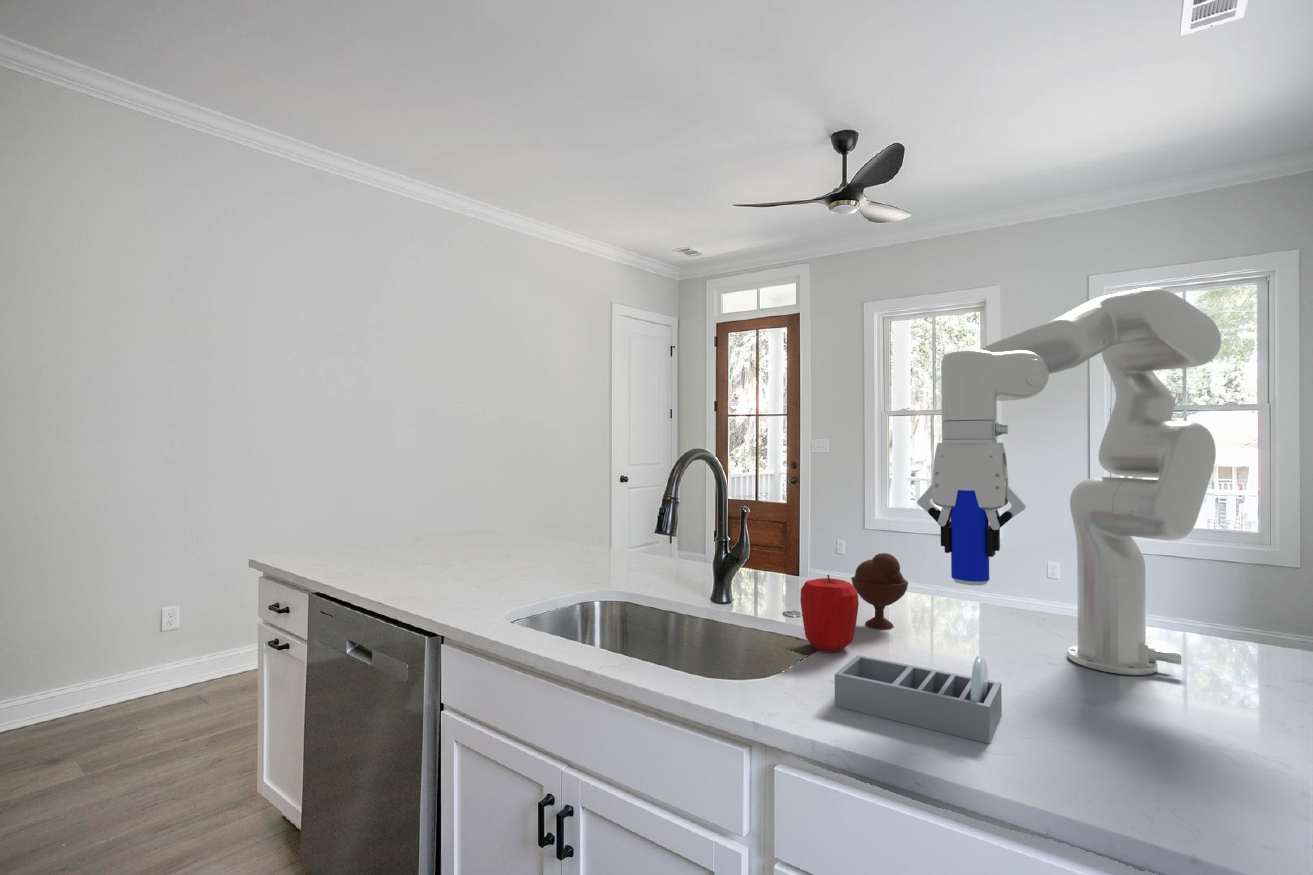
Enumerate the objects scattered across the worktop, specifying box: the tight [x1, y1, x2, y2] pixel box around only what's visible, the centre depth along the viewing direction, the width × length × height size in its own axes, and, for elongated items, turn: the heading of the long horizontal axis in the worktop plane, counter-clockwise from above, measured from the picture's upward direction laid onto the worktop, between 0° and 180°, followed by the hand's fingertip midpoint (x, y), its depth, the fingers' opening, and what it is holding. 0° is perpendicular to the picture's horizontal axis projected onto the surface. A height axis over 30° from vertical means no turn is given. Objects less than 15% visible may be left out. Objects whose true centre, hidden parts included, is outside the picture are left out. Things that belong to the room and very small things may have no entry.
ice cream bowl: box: [850, 552, 909, 630], centre depth 133 cm, size 11×11×15 cm
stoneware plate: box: [971, 655, 989, 703], centre depth 87 cm, size 1×8×8 cm, turn 144°
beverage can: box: [950, 486, 990, 586], centre depth 98 cm, size 5×5×15 cm
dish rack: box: [834, 654, 1003, 745], centre depth 91 cm, size 20×10×5 cm, turn 54°
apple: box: [799, 574, 859, 653], centre depth 119 cm, size 11×10×14 cm
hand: (969, 552), depth 98 cm, fingers closed on beverage can, 5 cm apart
